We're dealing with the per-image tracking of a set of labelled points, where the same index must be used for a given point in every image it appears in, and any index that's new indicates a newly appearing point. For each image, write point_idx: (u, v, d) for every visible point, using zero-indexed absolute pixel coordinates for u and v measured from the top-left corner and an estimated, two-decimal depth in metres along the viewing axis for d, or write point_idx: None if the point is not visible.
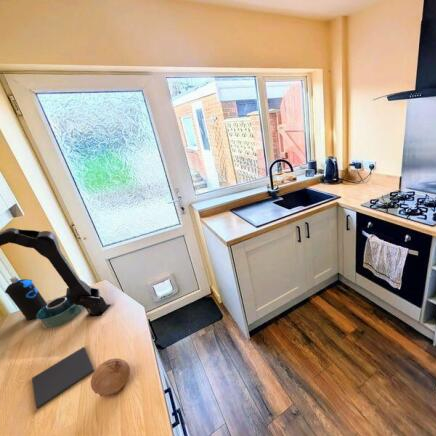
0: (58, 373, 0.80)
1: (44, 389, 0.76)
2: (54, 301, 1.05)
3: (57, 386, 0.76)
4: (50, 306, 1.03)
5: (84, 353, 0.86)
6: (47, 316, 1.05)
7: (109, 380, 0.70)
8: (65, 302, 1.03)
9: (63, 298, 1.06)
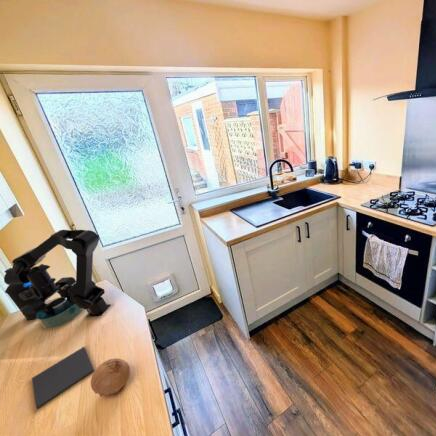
0: (58, 373, 0.80)
1: (44, 389, 0.76)
2: (54, 301, 1.05)
3: (57, 386, 0.76)
4: None
5: (84, 353, 0.86)
6: (47, 316, 1.05)
7: (109, 380, 0.70)
8: (65, 302, 1.03)
9: (63, 298, 1.06)
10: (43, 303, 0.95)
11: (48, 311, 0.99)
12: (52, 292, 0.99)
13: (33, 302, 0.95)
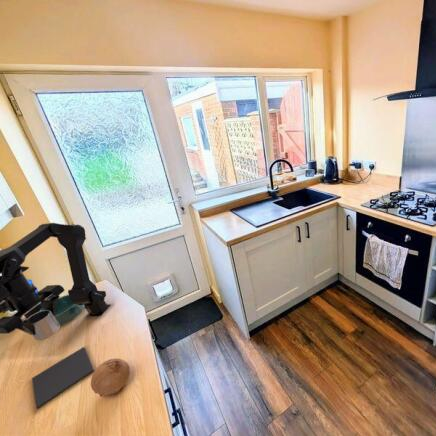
0: (58, 373, 0.80)
1: (44, 389, 0.76)
2: (36, 315, 0.83)
3: (57, 386, 0.76)
4: (30, 321, 0.82)
5: (84, 353, 0.86)
6: None
7: (109, 380, 0.70)
8: (49, 317, 0.82)
9: (47, 311, 0.84)
10: (18, 320, 0.74)
11: (26, 329, 0.77)
12: (32, 305, 0.78)
13: (6, 318, 0.73)
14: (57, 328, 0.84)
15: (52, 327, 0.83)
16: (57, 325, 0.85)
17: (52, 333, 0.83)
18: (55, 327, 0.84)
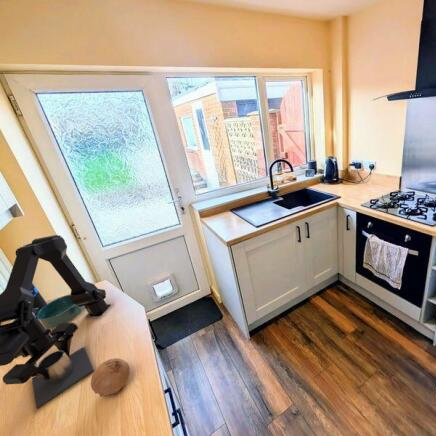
0: None
1: (44, 389, 0.76)
2: (49, 356, 0.79)
3: (57, 386, 0.76)
4: (44, 364, 0.77)
5: (84, 353, 0.86)
6: (47, 316, 1.05)
7: (109, 380, 0.70)
8: (63, 359, 0.77)
9: (60, 352, 0.80)
10: (33, 367, 0.69)
11: (40, 375, 0.73)
12: (46, 349, 0.73)
13: (19, 366, 0.69)
14: (72, 369, 0.80)
15: (67, 369, 0.78)
16: (71, 366, 0.80)
17: (67, 375, 0.78)
18: (70, 368, 0.79)
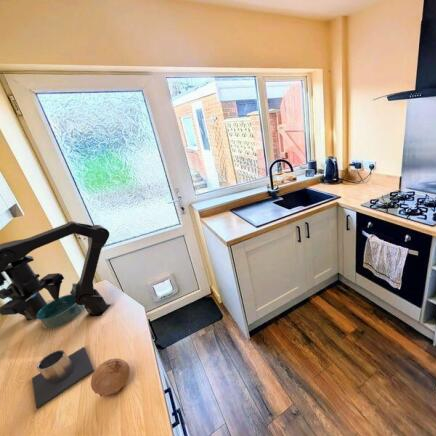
0: None
1: (44, 389, 0.76)
2: (49, 356, 0.79)
3: (57, 386, 0.76)
4: (44, 364, 0.77)
5: (84, 353, 0.86)
6: (47, 316, 1.05)
7: (109, 380, 0.70)
8: (63, 359, 0.77)
9: (60, 352, 0.80)
10: (24, 302, 0.83)
11: (27, 314, 0.85)
12: (35, 290, 0.87)
13: (13, 301, 0.82)
14: (72, 369, 0.80)
15: (67, 369, 0.78)
16: (71, 366, 0.80)
17: (67, 375, 0.78)
18: (70, 368, 0.79)
